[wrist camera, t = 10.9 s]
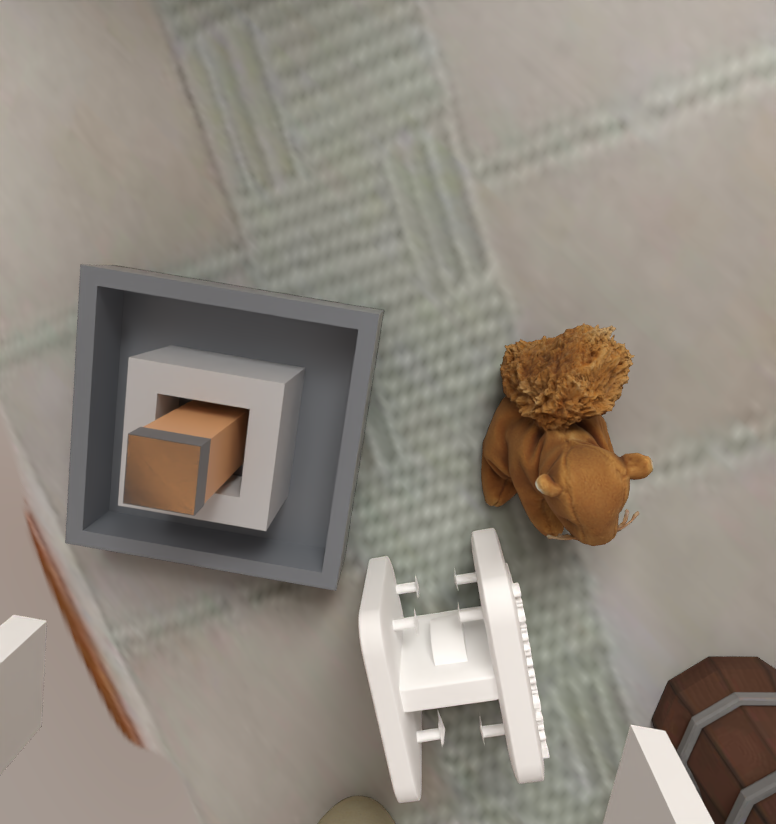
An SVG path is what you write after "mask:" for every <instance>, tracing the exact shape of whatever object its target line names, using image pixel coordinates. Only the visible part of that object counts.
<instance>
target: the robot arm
mask: <svg viewBox="0 0 776 824" xmlns="http://www.w3.org/2000/svg"><path fill="white" fill-rule="evenodd" d="M46 630H47V621H46V620H40V619H35V618H29V617H23V616H18V615H13V616H12V617H10V618H9V619H8V620H7V621H5V622H4V623H3V624H2V625H1V626H0V775H1V774H2V773H3V772H4V770H5V769H6V768H7V767H8V766H9V764H10V763H11V762H12V761H13V760H14V759H15V758H16V756H17V755H18V754H19V753H20V752H21V750H22V749H23V748H24V747H25V746H26V744H27V743H28V742H29V741H30V740H31V738H32V737H33V736H34V735H35V734H36V733H37V731H38V730H39V729H40V728H41V727H42V711H43V691H44V670H45V651H46ZM603 824H714V822H713V820H712V818H711V816H710V814H709V813H708V811H707V809H706V807H705V805H704V803H703V801H702V799H701V797H700V796H699V794H698V792H697V790H696V788H695V786H694V784H693V782H692V780H691V779H690V777H689V775H688V773H687V771H686V769H685V767H684V765H683V763H682V762H681V760H680V758H679V756H678V754H677V752H676V750H675V748H674V746H673V745H672V743H671V741H670V739H669V737H668V735H667V733H666V731H663V730H658V729H652V728H646V727H641V726H635V725H630V728H629V732H628V736H627V739H626V743H625V746H624V750H623V753H622V757H621V760H620V764H619V768H618V771H617V775H616V778H615V782H614V785H613V789H612V792H611V796H610V799H609V803H608V807H607V810H606V814H605V817H604V821H603Z"/></svg>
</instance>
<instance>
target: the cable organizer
mask: <svg viewBox="0 0 776 824" xmlns="http://www.w3.org/2000/svg"><path fill="white" fill-rule="evenodd" d="M471 544H472V554H473V560H474V566H475V572H473V573H467V574H461V575H456V573H455V567H454V581H455V584H456V587H457V590H458V585H460V584H467V583H473V582H477V583H478V589H479V595H480V601H481V606H477V607H471V608H464V609H459V604H458V610H451V611H445V612H438V613H432V614H425V615H419V616H416V612H415V609H414V614H415V616H412V617H406V618H404V615H403V611H402V606H401V601H400V596H399V594H403V593H409V592H416V591H417V598H418V597H419V585H418V582H417V578H416V575H415V580H416V582H410V583H404V584H398V585H397V582H396V578H395V574H394V570H393V566H392V563H391V561H390V559H389V557H388V556H383V557H377V558H371V559H370V560H369V563H368V568H367V573H366V579H365V584H364V589H363V594H362V599H361V604H360V610H359V616H358V629H359V640H360V646H361V652H362V657H363V661H364V665H365V670H366V674H367V678H368V683H369V687H370V691H371V696H372V700H373V704H374V709H375V713H376V717H377V722H378V726H379V730H380V735H381V739H382V743H383V748H384V752H385V756H386V761H387V765H388V769H389V774H390V778H391V782H392V786H393V790H394V793H395V796H396V799H397V800H398V802H399V803H405V802H413V801H419V800H420V798H421V791H422V742H427V741H433V740H439V739H441V744H442V745H444V738H445V727H444V724H443V722H442V719H441V717H440V714H439V712H438V719H439V722H438V726H439V728H433V729H427V730H422V710H428V709H435V708H443V707H450V706H457V705H464V704H471V703H478V702H486V701H493V700H497V699H499V704H500V709H501V714H502V720H503V723H500V724H493V725H486V726H482V721H481V718H480V731H481V735H482V738H483V742H484V738H486V737H493V736H501V735H505V736H506V741H507V746H508V751H509V756H510V760H511V764H512V768H513V771H514V774H515V777H516V779H517V781H518V783H528V782H536V781H543V780H544V760H543V758H549V751H548V746H547V744H546V736H545V732H544V725H543V717H542V713H541V705H540V700H539V696H538V690H537V686H536V678H535V672H534V669H533V661H532V657H531V656H532V655H531V648H530V644H529V641H528V640H529V637H528V633H527V626H526V624H525V621H526V618H525V613H524V609H523V607H522V606H523V604H522V599H521V591H520V587H519V584H518V583H513V581H512V577H511V574H510V570H509V567H508V563H505V559H504V556H503V552H502V549H501V545H500V542H499V538H498V536H497V533H496V531H495V529H494V528H488V529H482V530H476V531H472V535H471ZM458 591H459V590H458ZM484 745H485V744H484Z"/></svg>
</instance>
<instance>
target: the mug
mask: <svg viewBox="0 0 776 824" xmlns="http://www.w3.org/2000/svg"><path fill="white" fill-rule="evenodd" d="M652 722H653V725H654V728H655V729H658V730H663V731H666V733H667V735H668V737H669V739H670V741H671V743H672V745H673V746H674V748H675V750H676V752H677V754H678V756H679V758H680V760H681V762H682V763H683V765H684V767H685V769H686V771H687V773H688V775H689V777H690V779H691V780H692V782H693V784H694V786H695V788H696V790H697V792H698V794H699V796H700V797H701V799H702V801H703V803H704V805H705V807H706V809H707V811H708V813H709V814H710V816H711V818H712V820H713V822H714V824H776V669H775V668H773V667H772V666H770V665H769V664H767V663H766V662H764V661H763V660H761V659H760V658H758V657H707V658H706V659H704V660H702V661H701V662H699V663H697V664H696V665H694V666H692V667H691V668H689V669H687V670H686V671H684V672H683V673H681V674H679V675H678V676H676V677H674V678H673V679H671V680H669V681H668V683H667V686H666V688H665V690H664V693H663V695H662V697H661V699H660V702H659V704H658V706H657V709H656V711H655V713H654V716H653V718H652Z"/></svg>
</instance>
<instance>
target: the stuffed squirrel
mask: <svg viewBox="0 0 776 824" xmlns="http://www.w3.org/2000/svg"><path fill="white" fill-rule="evenodd" d="M615 329H616V328H615V327H613V326H610V327H607V328H603V329H602V328H601V329H599V325H597V326H596V327H595V328H593V327H592V326H589V325H585V324H583V325H581V326H577V327H575V328H573V329H566V331H565V333H563V334H560V335H559V336H557V337H556V338H555V337H553V338H548V339H547V338H546V336H543V338H542V339H541V340H535V341H533V342H525V341H522V340H521V339H520V341H519V342H516V344H511V345H508V346H506V345H505V348H506V350H507V351H506V352H505V356H504V357H503V363H502V364H500V366H501V368H500V371H501V377H502V380H503V381H502V382H503V383H502V384H503V389H504V390H503V392H504V393H505V395H506V396H505V397H504V398H503V399H502V401H501V402H500V404H499V406H498V408H497V409H496V411H495V414H494V416H493V418H492V421H491V423H490V426H489V428H488V431H487V434H486V436H485V438H484V440H483V451H482V467H481V479H482V488H483V492H484V497H485V501H486V503H487V504H488V505H490V506H496V507H499V506H501V505H503V504H505V503H506V502H507V501H509V500H510V499H511V498H512V497H513V496H514V495H515V494H516V493H518V495H519V498H520V500H521V503H522V505H523V507H524V509H525V511H526V513H527V515H528V517H529V519H530V520H531V522H532V523H533V525H534V526H535V527H536V528H537V529H538V530H539V531H540V532H541V533H542V534H543V535H545V536H547V538H548V539H559V540H571V539H574V540H578V541H580V542H582V543H584V544H589V545H591V546H596V545H603V544H606V543H608V542H610V541H611V540H612V539H613V538H614V537H615V535H616V533H617V532H618V531H621V529H623V528H625V527H626V526H627V525H629V524H630V523H631V522H632V521H633V520H634V519H635V518H636V516H638V515H639V512H638V511H637V512H636V513H635V514H634V515H633V516H632V519H631V521H629V522H628V523H626V522H627V519H628V515H629V511H628V510H627V509H626V510H625V515H624V519H623V522H622V523H621V524H620V525H618V518H619V515H618V514H619V513H620V512H621V510H622V509H623V507H624V505H625V503H626V501H627V499H628V495H629V490H630V479H633V480H635V479H642V478H645V477H647V476H648V475H649V474H650V473H651V472H652V471H653V462H652V460H651V459H650V458H649V457H648V456H644V455H641V454H639V453H632V454H625V455H623V456H621V457H618V456H617V455H616V454H614V451H613V447H612V444H611V441H610V438H609V434H608V432H607V425H606V422H605V420H604V419H603V417H602V416H601V415H603V414H605V413H606V412H607V411H612V408H613V407H614V406H615V401H616V400H617V399H619V398H620V396H621V393H622V392H621V391H622V389H623V387H622V386H623V384H626V383H628V380H629V377H628V376H627V374H628V372H630V370H629V369H628V368H629V367H630V366H632V365H633V363H632V360H631V358H633V357H634V355H633V356H632V355H631V354H630V353H629V350H626V348H625V343H624V344H619V343H618V344H617V343H616V341H614V339H613V338H614V336H615V335H613V337H612V338H611V340H610V336H611V333H612V332H613V331H614V330H615ZM564 527H565V528H566V529H567V530H568V531H569V532H570V534H571V535H568V534H565V535H561V534H562V532H563V530H564ZM557 536H558V537H557Z"/></svg>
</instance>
